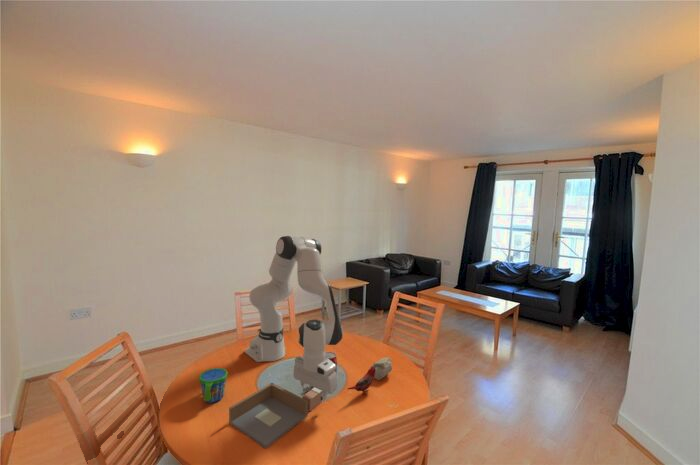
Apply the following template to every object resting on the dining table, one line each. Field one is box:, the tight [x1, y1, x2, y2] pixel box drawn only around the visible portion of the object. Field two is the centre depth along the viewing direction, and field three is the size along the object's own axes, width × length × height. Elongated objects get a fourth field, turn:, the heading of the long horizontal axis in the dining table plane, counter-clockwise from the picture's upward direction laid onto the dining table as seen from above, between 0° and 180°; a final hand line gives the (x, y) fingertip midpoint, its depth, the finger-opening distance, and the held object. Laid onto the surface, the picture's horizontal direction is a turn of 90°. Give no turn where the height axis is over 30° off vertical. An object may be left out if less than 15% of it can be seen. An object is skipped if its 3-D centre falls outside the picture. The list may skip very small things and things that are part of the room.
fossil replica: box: [370, 357, 393, 381], centre depth 149 cm, size 12×8×10 cm
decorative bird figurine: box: [347, 366, 376, 394], centre depth 133 cm, size 3×18×10 cm, turn 134°
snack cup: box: [198, 367, 228, 404], centre depth 129 cm, size 16×10×10 cm
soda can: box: [325, 351, 338, 376], centre depth 144 cm, size 7×7×12 cm
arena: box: [228, 382, 309, 449], centre depth 117 cm, size 20×20×6 cm
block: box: [302, 387, 323, 412], centre depth 126 cm, size 7×4×5 cm, turn 145°
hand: (314, 395), depth 126 cm, fingers open, 8 cm apart
